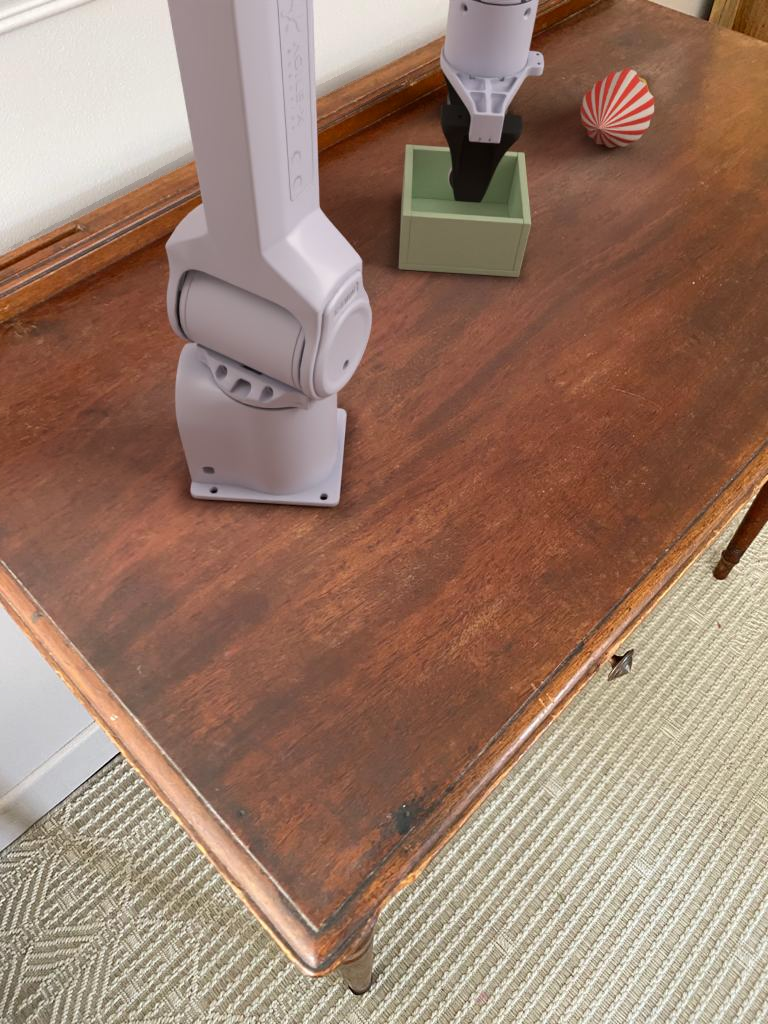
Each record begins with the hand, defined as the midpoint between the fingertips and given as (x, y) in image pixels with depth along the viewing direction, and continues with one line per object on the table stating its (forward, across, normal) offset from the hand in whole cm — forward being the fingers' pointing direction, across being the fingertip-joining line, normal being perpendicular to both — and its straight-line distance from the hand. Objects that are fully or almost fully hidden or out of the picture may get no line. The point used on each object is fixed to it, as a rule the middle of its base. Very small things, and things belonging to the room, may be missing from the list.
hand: (467, 176), depth 62 cm
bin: (+6, 0, 0) cm, 6 cm away
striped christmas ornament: (+6, +18, -16) cm, 25 cm away
